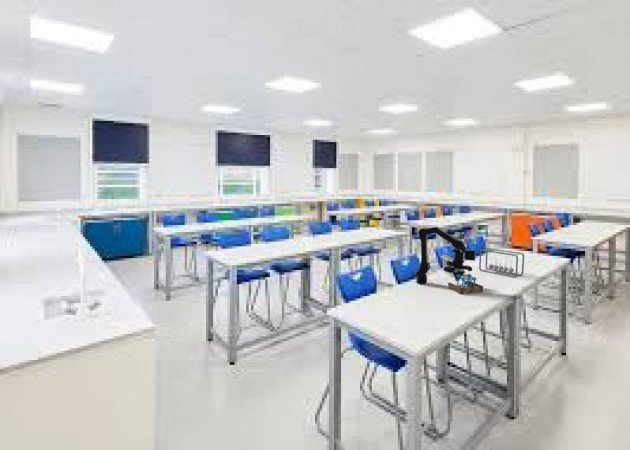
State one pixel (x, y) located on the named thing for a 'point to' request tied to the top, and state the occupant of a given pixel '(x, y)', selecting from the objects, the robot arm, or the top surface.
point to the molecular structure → (466, 280)
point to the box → (466, 288)
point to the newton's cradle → (501, 262)
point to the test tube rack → (445, 259)
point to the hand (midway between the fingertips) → (457, 281)
